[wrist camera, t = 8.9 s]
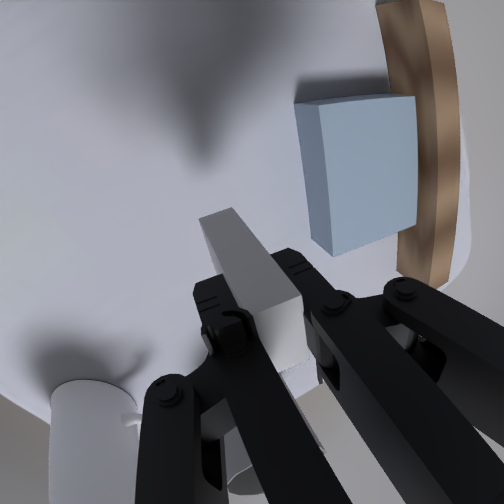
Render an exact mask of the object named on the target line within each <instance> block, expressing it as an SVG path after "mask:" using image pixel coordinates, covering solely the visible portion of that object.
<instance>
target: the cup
mask: <svg viewBox="0 0 504 504" xmlns="http://www.w3.org/2000/svg"><path fill="white" fill-rule="evenodd" d="M278 374H279V376H280V378H281V379H282V381H283V383H284V385H285V387H286V389H287V390H288V392H289V394H290V396H291V398H292V400H293V401H294V403H295V405H296V407H297V409H298V410H299V412H300V414H301V416H302V417H303V419H304V421H305V423H306V425H307V426H308V428H309V430H310V432H311V433H312V435H313V437H314V439H315V441H316V442H317V444H318V446H319V448H320V449H321V451H322V453H323V454H324V456H325V454H326V451H325V449H324V448H323V446H322V444H321V443H320V441H319V439H318V438H317V436H316V435H315V433H314V431H313V429H312V428H311V426H310V424H309V423H308V421H307V419H306V417H305V416H304V414H303V412H302V411H301V409H300V407H299V405H298V404H297V402H296V400H295V399H294V397H293V395H292V393H291V392H290V390H289V388H288V386H287V385H286V383H285V381H284V379H283V378H282V376H281V374H280V372H279V373H278ZM224 442H225V458H226V473H227V486H228V493H230V494H233V495H237V496H251V495H259V494H263V493H264V491H263V489H262V487H261V484H260V482H259V480H258V478H257V475H256V473H255V470H254V468H253V466H252V463H251V461H250V458H249V456H248V454H247V451H246V449H245V446H244V444H243V441H242V439H241V436H240V434H239V431H238V429H237V426H236V427H235V428H233V429H232V430H231V431H229V432H228V433H227V434H225V435H224Z"/></svg>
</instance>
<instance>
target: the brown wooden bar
mask: <svg viewBox="0 0 504 504" xmlns="http://www.w3.org/2000/svg"><path fill="white" fill-rule="evenodd" d="M376 10H377V14H378V18H379V23H380V28H381V33H382V38H383V43H384V48H385V54H386V60H387V66H388V72H389V79H390V86H391V94H399V95H409V96H415V103H416V118H417V141H418V194H417V217H416V225H414V226H411V227H409V228H406V229H404V230H401V231H399V232H398V255H397V272H399V273H400V274H401V275H403V276H404V277H411V278H414V279H417V280H419V281H421V282H423V283H425V284H427V285H429V286H430V287H432V288H434V289H437V288H439V287H440V286H442V285H443V284H445V283H446V282H448V279H449V273H450V267H451V261H452V255H453V248H454V240H455V232H456V223H457V212H458V200H459V184H460V114H459V98H458V86H457V77H456V68H455V60H454V53H453V47H452V41H451V35H450V29H449V24H448V19H447V15H446V10H445V6H444V3H441V2H437V1H433V0H398V1H393V2H389V3H384V4H380V5H376Z"/></svg>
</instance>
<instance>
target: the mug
mask: <svg viewBox="0 0 504 504" xmlns="http://www.w3.org/2000/svg"><path fill="white" fill-rule="evenodd" d="M50 404H51V428H50V444H49V445H50V446H49V504H135V488H136V474H137V461H138V450H139V437H138V429H137V424H138V423H140V424H141V422H142V414H140V413H138V409H137V406H136V403H135V402H134V400H133V399H132V398H131V397H130V396H129V395H128V394H127V393H126V392H124V391H123V390H121V389H120V388H118V387H116V386H113V385H111V384H108V383H104V382H100V381H95V380H74V381H70V382H66V383H64V384H62V385H60V386H59V387H57V388H56V389H55V390H54V392H53V393H52V395H51V400H50Z"/></svg>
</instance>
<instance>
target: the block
mask: <svg viewBox="0 0 504 504" xmlns="http://www.w3.org/2000/svg"><path fill="white" fill-rule="evenodd" d="M294 110H295V116H296V122H297V129H298V136H299V142H300V149H301V156H302V164H303V171H304V179H305V187H306V195H307V203H308V212H309V221H310V230H311V239H312V240H313V241H315V242H316V243H317V244H318V245H319V246H321V247H322V248H323V249H324V250H325V251H326V252H328V253H329V254H330V255H331V256H332V257H335V256H338V255H340V254H343V253H346V252H348V251H351V250H353V249H356V248H358V247H361V246H364V245H366V244H369V243H371V242H374V241H376V240H379V239H381V238H384V237H386V236H389V235H391V234H394V233H396V232H399V231H401V230H404V229H406V228H409V227H411V226H414V225H416V217H417V194H418V141H417V118H416V103H415V96H409V95H399V94H389V93H382V94H369V95H358V96H348V97H339V98H330V99H323V100H315V101H308V102H302V103H295V104H294Z"/></svg>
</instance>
